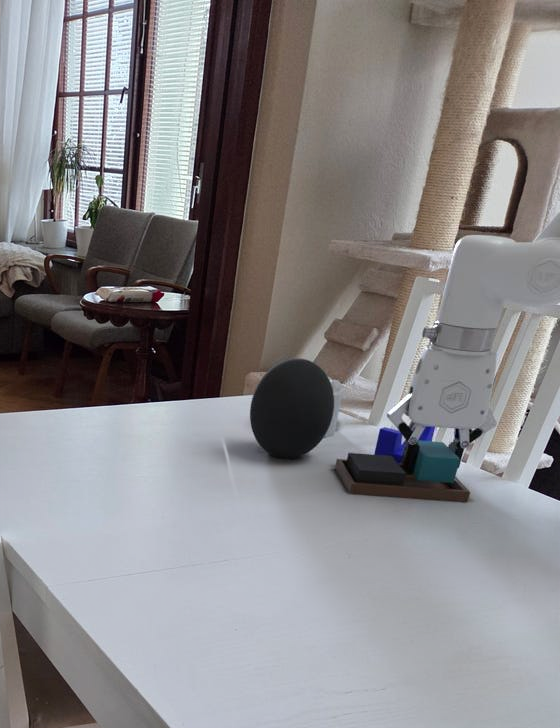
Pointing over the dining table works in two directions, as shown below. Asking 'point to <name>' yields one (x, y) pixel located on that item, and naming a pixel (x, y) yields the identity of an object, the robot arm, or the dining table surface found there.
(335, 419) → the lumpy-topped squat cylinder
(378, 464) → the back pad
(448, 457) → the teal rectangular block
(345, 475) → the frame
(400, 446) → the blue curved cradle
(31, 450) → the dining table surface
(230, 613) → the dining table surface
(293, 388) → the decorative egg
